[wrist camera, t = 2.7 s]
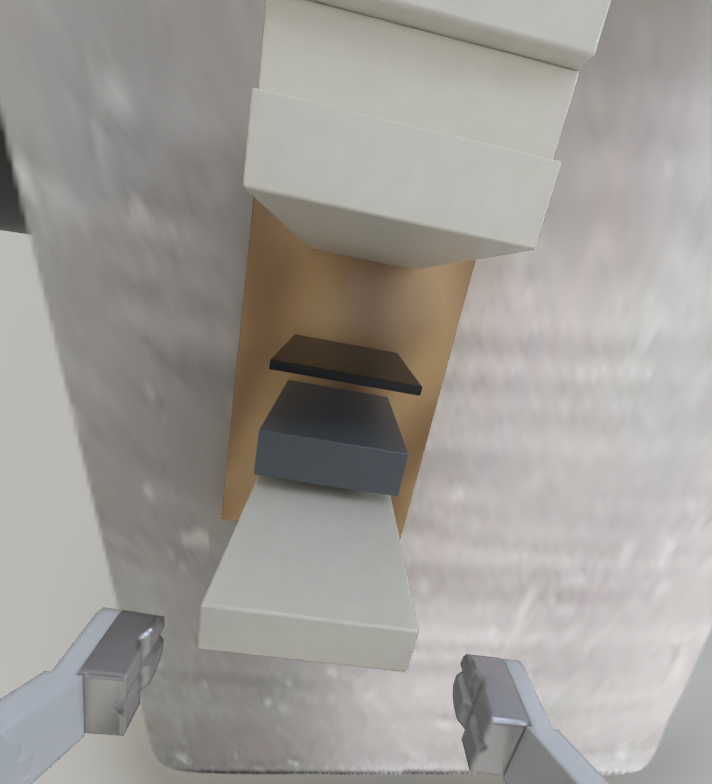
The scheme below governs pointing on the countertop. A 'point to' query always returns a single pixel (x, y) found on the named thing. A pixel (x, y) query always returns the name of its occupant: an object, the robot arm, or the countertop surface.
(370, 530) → the thin cream book
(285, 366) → the thin black tile
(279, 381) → the book board
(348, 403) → the grey books
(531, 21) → the cream books
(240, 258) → the countertop surface
